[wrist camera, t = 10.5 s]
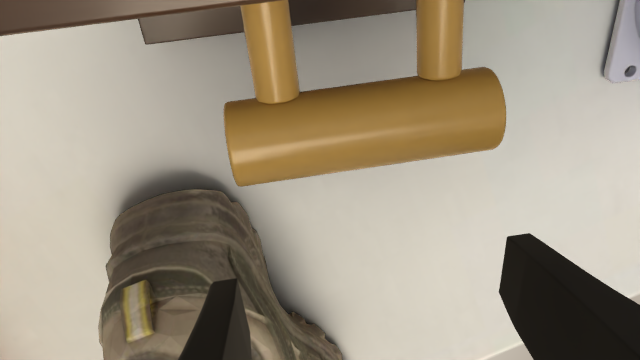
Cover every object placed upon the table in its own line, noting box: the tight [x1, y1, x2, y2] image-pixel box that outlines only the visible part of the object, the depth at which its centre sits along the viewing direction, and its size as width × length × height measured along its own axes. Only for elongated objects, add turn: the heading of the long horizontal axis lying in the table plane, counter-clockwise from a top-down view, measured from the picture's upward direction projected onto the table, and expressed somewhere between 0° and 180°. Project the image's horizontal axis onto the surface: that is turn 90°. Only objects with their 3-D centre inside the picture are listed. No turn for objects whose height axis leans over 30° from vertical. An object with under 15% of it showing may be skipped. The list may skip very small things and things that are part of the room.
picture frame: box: [0, 0, 506, 186], centre depth 13 cm, size 12×12×4 cm
